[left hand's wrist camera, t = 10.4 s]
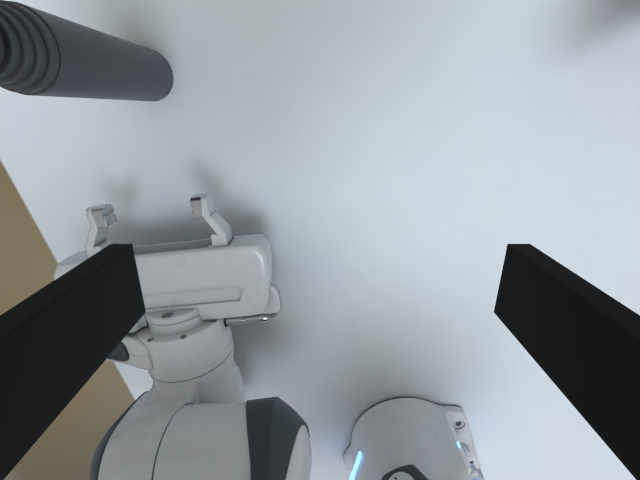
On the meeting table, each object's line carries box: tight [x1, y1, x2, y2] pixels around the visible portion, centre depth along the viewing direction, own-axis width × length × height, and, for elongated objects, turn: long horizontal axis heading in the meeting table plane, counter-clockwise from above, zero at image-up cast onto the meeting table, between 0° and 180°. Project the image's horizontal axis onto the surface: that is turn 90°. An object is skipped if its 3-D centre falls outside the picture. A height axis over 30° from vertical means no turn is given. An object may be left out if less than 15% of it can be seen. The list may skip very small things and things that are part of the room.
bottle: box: [0, 0, 173, 101], centre depth 24 cm, size 5×5×21 cm
